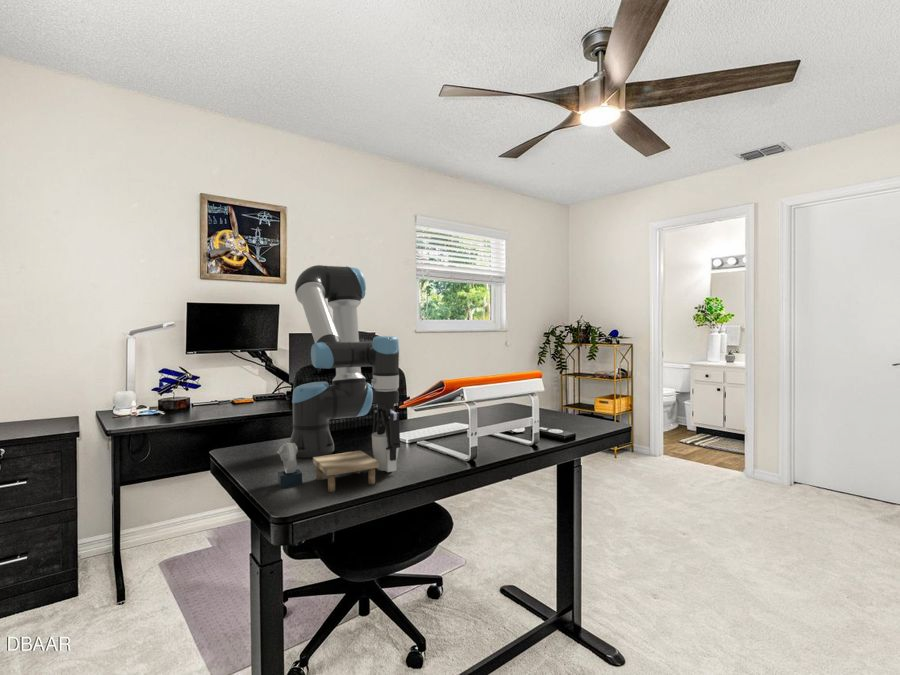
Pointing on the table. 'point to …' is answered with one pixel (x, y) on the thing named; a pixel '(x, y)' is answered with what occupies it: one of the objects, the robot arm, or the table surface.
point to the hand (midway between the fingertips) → (385, 467)
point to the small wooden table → (344, 466)
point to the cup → (381, 450)
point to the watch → (289, 466)
